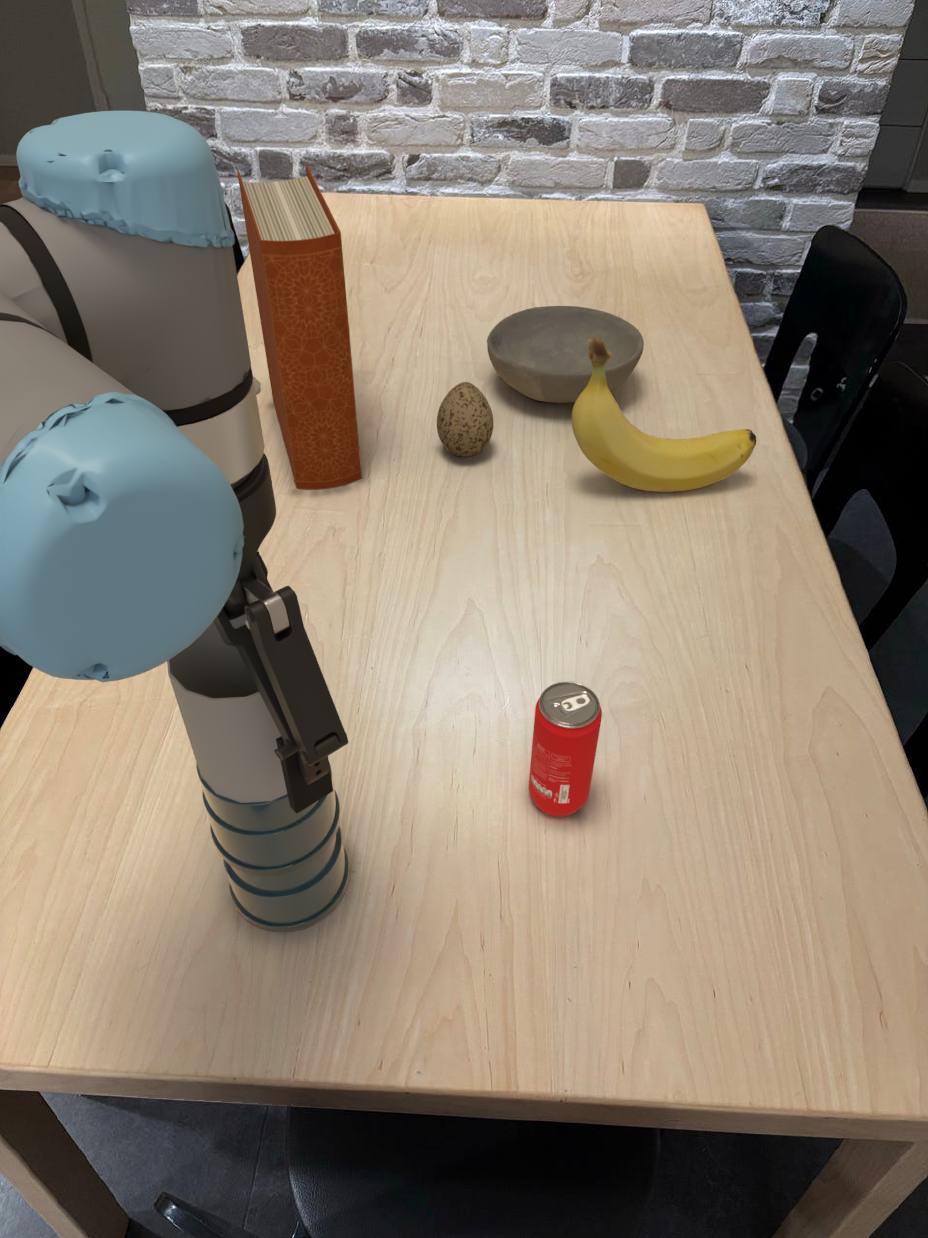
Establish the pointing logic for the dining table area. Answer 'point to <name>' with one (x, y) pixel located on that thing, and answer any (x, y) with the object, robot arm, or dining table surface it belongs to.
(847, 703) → the dining table surface
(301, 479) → the book
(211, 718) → the cup
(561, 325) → the bowl
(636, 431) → the banana
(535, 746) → the beverage can
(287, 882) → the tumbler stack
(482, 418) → the decorative egg
